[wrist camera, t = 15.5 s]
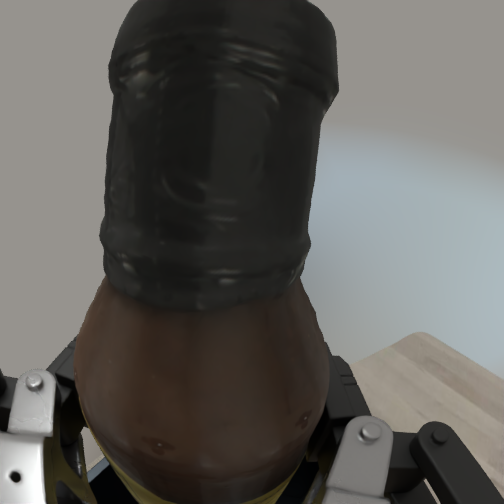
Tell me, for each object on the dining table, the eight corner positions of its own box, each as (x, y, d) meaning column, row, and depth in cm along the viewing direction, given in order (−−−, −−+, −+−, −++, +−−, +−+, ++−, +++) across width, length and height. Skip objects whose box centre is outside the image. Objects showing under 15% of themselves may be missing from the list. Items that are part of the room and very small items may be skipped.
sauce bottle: (164, 461, 13) (149, 84, 7) (260, 476, 13) (340, 98, 7) (141, 539, 6) (15, -2, 1) (259, 557, 6) (465, -6, 1)
